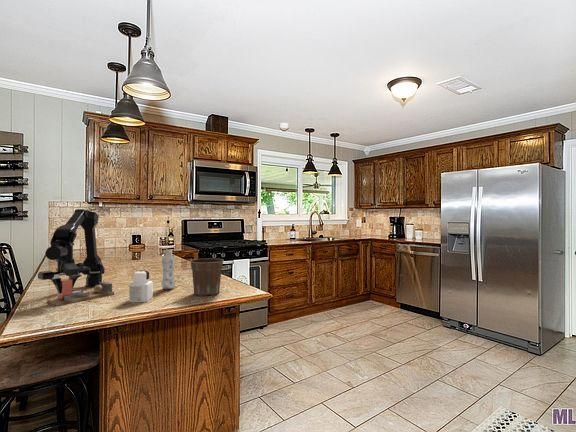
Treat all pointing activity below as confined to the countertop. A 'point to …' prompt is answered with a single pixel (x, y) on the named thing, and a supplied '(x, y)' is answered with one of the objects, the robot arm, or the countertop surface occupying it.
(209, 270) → the plant pot
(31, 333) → the countertop surface
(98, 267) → the robot arm
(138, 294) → the container
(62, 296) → the block
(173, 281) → the plastic bottle
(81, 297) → the nutcracker base
